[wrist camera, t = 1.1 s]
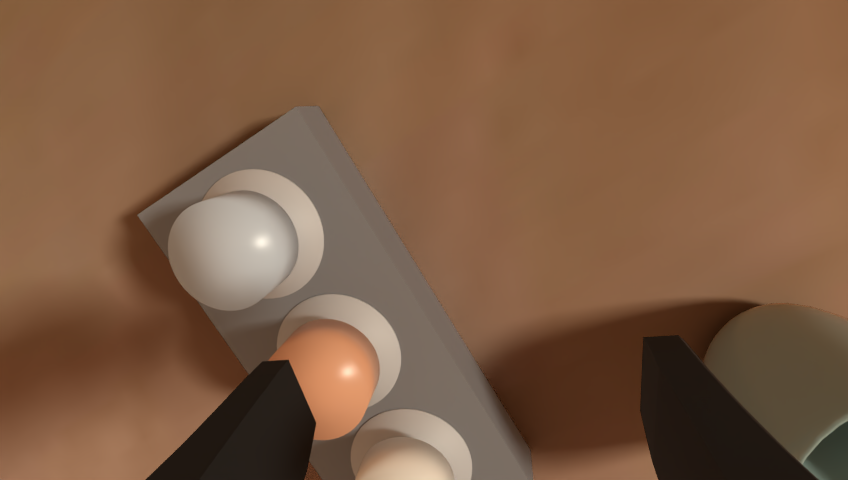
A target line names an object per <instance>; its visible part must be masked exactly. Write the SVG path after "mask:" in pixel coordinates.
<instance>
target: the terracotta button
mask: <svg viewBox="0 0 848 480" xmlns="http://www.w3.org/2000/svg"><path fill="white" fill-rule="evenodd" d="M275 360H289V362H290V364H291V366H292V369H293V371H294V373H295V375H296V378H297V380H298V382H299V385H300V387H301V389H302V391H303V394H304V396H305V398H306V400H307V403H308V405H309V407H310V410H311V412H312V414H313V416H314V419H315V421H316V428H315V433H314V439H313V440H331V439H335V438H339V437H341V436H344V435H345V434H347V433H349V432H350V431H352V430H353V429H354V428H355V427H356V426H357V425H358V424H359V422H360V421H361V420H362V418H363V416H364V414H365V411H366V409H367V407H368V405H369V402H370V400H371V398H372V395H373V393H374V391H375V389H376V386H377V384H378V381H379V376H380V364H379V359H378V355H377V353H376V350H375V349H374V347H373V345H372V343H371V342H370V341H369V339H368V338H367V337H366V336H365V335H364V334H363V333H362V332H360V331H359V330H358V329H356V328H355V327H353V326H351V325H349V324H347V323H345V322H342V321H338V320H334V319H318V320H313V321H310V322H307V323H305V324H303V325H302V326H300V327H298V328H297V329H296V330H295V331H294V332H293V333H292V334H291V335H290V336H289V338H288V339H287V340H286V341H285V342H284V343H283V344H282V345H281V346H280V348H279V349H278V350H277V351H276V352H275V353H274V354H273V355H272V357H271V358H270V359H269V360H268V361H275Z"/></svg>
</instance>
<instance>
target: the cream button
mask: <svg viewBox="0 0 848 480" xmlns="http://www.w3.org/2000/svg"><path fill="white" fill-rule="evenodd" d="M355 480H454V474H453V471H452V468H451V466H450V464H449V462H448V461H447V459H446V458H445V457H444V456H443V454H442V453H441V452H440V451H438V450H437V449H436V448H435V447H433V446H431V445H430V444H428V443H426V442H424V441H421V440H418V439H414V438H409V437H394V438H389V439H386V440H383V441H381V442H379V443H377V444H375V445H374V446H373V447H372V448H370V449H369V450H368V452H367V453H366V454H365V456H364V458H363V460H362V463H361V465H360V468H359V470H358V473H357V476H356V478H355Z"/></svg>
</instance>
